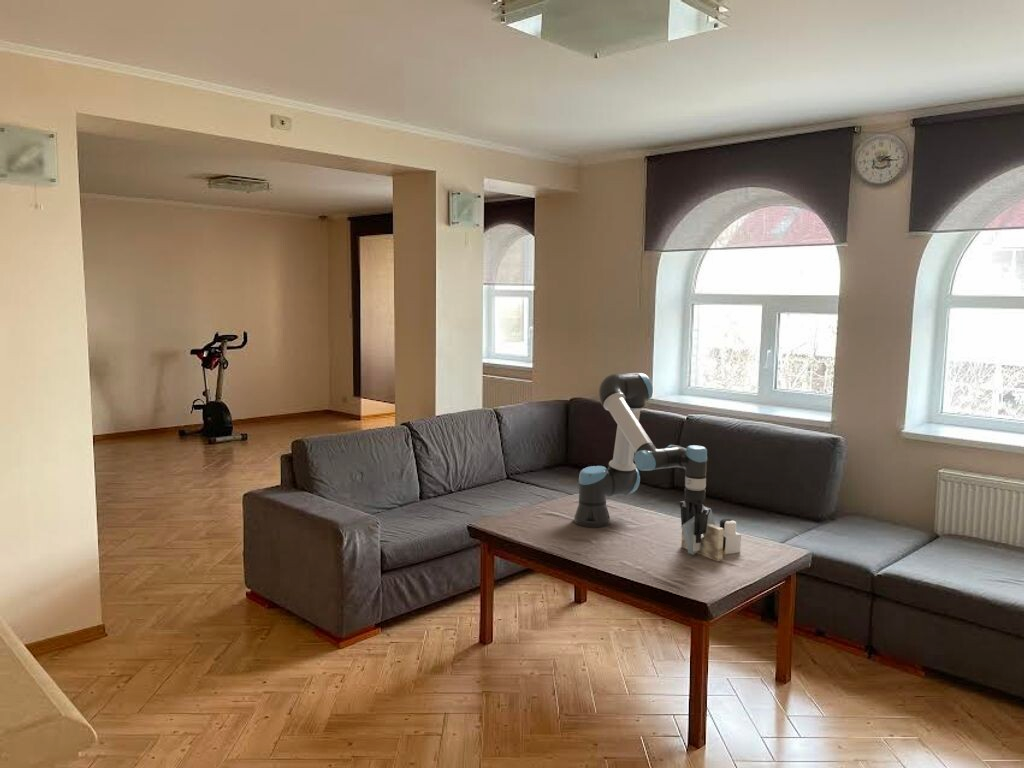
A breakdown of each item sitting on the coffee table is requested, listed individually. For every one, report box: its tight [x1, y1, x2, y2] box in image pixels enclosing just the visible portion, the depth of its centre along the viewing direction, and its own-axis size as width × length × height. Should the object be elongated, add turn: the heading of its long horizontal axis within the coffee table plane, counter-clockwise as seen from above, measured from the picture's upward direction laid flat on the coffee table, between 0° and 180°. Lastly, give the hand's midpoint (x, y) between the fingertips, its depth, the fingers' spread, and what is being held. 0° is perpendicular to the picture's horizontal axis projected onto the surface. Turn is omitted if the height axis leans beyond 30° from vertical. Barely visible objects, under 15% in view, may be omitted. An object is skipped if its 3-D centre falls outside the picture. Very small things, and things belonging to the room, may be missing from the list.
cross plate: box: [680, 506, 716, 556], centre depth 277 cm, size 14×2×12 cm, turn 123°
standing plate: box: [680, 524, 724, 562], centre depth 278 cm, size 18×2×12 cm, turn 33°
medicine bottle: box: [719, 518, 742, 555], centre depth 281 cm, size 7×7×12 cm
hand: (692, 549), depth 276 cm, fingers closed on cross plate, 2 cm apart
